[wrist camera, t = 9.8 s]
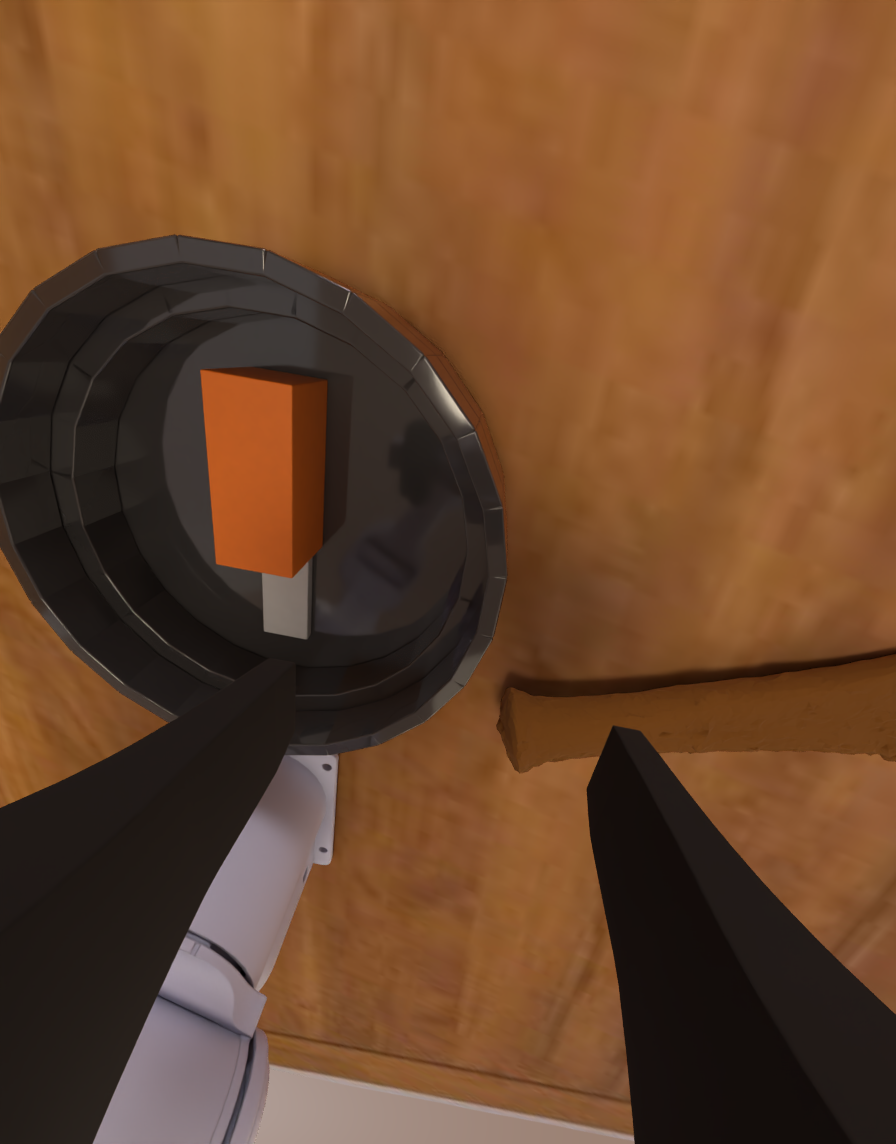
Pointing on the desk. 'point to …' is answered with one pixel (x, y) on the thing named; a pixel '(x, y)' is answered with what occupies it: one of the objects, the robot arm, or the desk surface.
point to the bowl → (183, 503)
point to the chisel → (268, 482)
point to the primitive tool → (716, 716)
